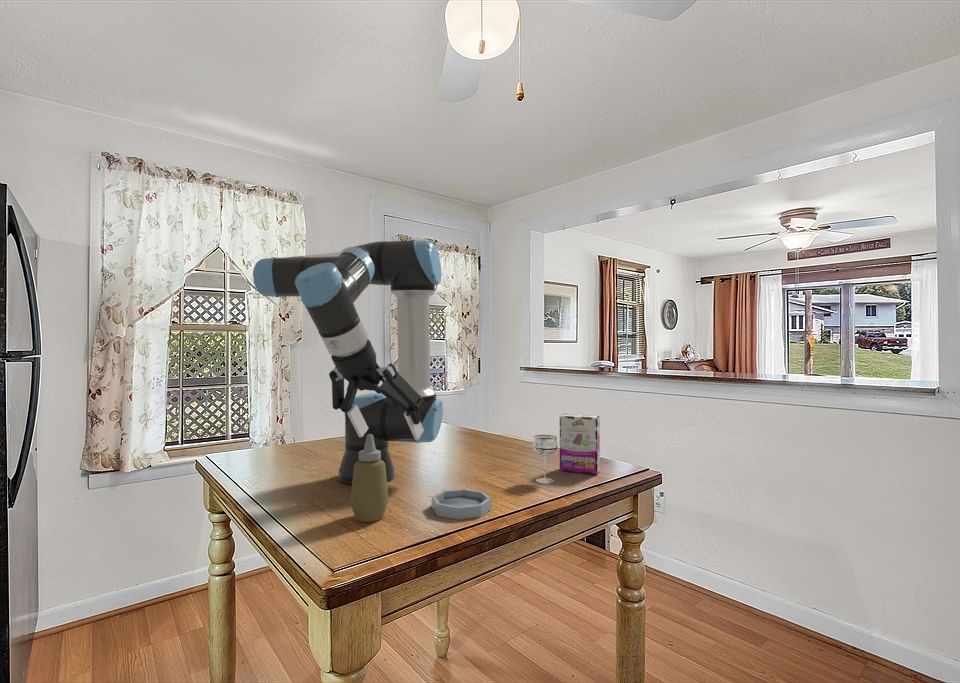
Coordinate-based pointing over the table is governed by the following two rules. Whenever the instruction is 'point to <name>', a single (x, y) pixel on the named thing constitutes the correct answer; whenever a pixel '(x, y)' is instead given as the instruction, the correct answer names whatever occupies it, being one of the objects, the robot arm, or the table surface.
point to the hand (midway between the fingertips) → (391, 433)
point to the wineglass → (545, 451)
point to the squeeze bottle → (369, 484)
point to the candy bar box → (580, 443)
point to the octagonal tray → (461, 504)
